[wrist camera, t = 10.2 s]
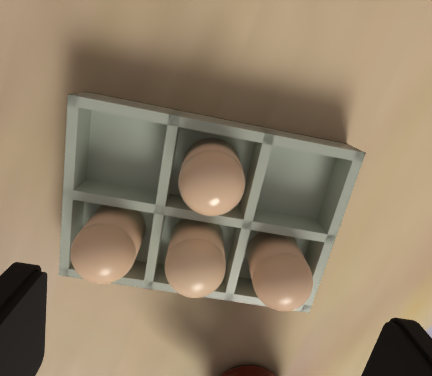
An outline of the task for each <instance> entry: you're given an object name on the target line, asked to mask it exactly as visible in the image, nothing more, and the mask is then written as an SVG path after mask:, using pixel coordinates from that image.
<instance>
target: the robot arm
mask: <svg viewBox="0 0 432 376" xmlns="http://www.w3.org/2000/svg"><path fill="white" fill-rule="evenodd" d="M46 297H47V273H46V272H41V268H40V266H39V265H33V264H26V263H19V262H15V263H13V264H12V265H11V266H10V267H9V268H8V269H7V270H6V271H5V272H4V273H3V274H2V275H1V276H0V376H35V375H36V373H37V372H38V370H39V368H40V366H41V363H42V360H43V357H44V349H45V323H46ZM362 376H432V338H431V337H430V336H429V335H428V334H427V332H426V331H425V330H424V329H423V328H422V327H421V325H420V324H419V323H417V322H416V321H413V320H407V319H400V318H392V319H391V320H390V321H389V322H387V323H385V325H384V326H383V328H382V331H381V333H380V335H379V337H378V340H377V342H376V344H375V346H374V349H373V351H372V353H371V355H370V358H369V360H368V362H367V364H366V367H365V369H364V371H363V373H362Z"/></svg>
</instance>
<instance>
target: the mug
mask: <svg viewBox="0 0 432 376" xmlns="http://www.w3.org/2000/svg"><path fill="white" fill-rule="evenodd" d="M221 376H275V375H274V374H273V373H272V372H271V371H269V370H267V369H265V368H263V367H259V366H253V365H245V366H239V367H236V368H233V369H230V370H228V371H227V372H225V373H224V374H222V375H221Z"/></svg>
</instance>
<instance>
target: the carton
mask: <svg viewBox="0 0 432 376" xmlns="http://www.w3.org/2000/svg"><path fill="white" fill-rule="evenodd" d="M205 138H218V139H221V140H224V141H226V142H227V143H229V144H230V145H231V146H232V147H233V148H234V149H235V151H236V152H237V154H238V157H239V160H240V163H241V166H242V169H243V172H244V175H245V190H244V193H243V196H242V198H241V200H240V201H239V203H238V204H237V205H236V206H235V207H234V208H233V209H232V210H230V211H229V212H227V213H225V214H222V215H218V216H206V215H202V214H199V213H197V212H195V211H193V210H192V209H191V208H190V207H188V206H187V204H186V203H185V202H184V200H183V199H182V197H181V194H180V191H179V187H178V180H179V174H180V170H181V167H182V163H183V160H184V156H185V154H186V152H187V150H188V149H189V148H190V147H191V146H192V145H193V144H194V143H195V142H197V141H199V140H201V139H205ZM364 156H365V152H363V151H361V150H359V149H357V148H355V147H353V146H351V145H349V144H346V143H341V142H336V141H331V140H326V139H321V138H316V137H311V136H306V135H301V134H296V133H291V132H286V131H280V130H275V129H270V128H265V127H260V126H255V125H250V124H245V123H240V122H235V121H230V120H225V119H220V118H215V117H210V116H205V115H200V114H195V113H190V112H185V111H180V110H175V109H170V108H165V107H160V106H155V105H150V104H145V103H140V102H135V101H130V100H124V99H119V98H114V97H109V96H104V95H99V94H94V93H89V92H80V93H73V94H68V102H67V122H66V142H65V161H64V181H63V201H62V221H61V240H60V260H59V275H60V276H67V277H73V278H80V279H85V280H87V281H89V282H92V283H95V284H108V283H113V284H120V285H127V286H133V287H140V288H147V289H153V290H160V291H167V292H173V293H179V294H181V295H183V296H186V297H189V298H200V297H207V298H213V299H220V300H227V301H233V302H240V303H247V304H253V305H260V306H267V307H269V308H271V309H274V310H277V311H291V310H294V311H300V312H307V313H309V312H310V309H311V306H312V303H313V301H314V298H315V295H316V292H317V289H318V286H319V284H320V281H321V278H322V275H323V272H324V269H325V267H326V264H327V261H328V258H329V255H330V252H331V250H332V247H333V244H334V241H335V238H336V235H337V233H338V230H339V227H340V224H341V221H342V218H343V216H344V213H345V210H346V207H347V204H348V201H349V199H350V196H351V193H352V190H353V187H354V184H355V182H356V179H357V176H358V173H359V170H360V167H361V165H362V162H363V159H364Z"/></svg>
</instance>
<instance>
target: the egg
mask: <svg viewBox="0 0 432 376" xmlns="http://www.w3.org/2000/svg"><path fill="white" fill-rule="evenodd" d="M178 187H179V191H180V194H181V197H182V199H183V200H184V202H185V203H186V204H187V206H188V207H190V208H191V209H192V210H193V211H195V212H197V213H199V214H202V215H206V216H218V215H222V214H225V213H227V212H229V211H230V210H232V209H233V208H234V207H235V206H236V205H237V204H238V203H239V201H240V200H241V198H242V196H243V193H244V190H245V175H244V172H243V169H242V166H241V163H240V160H239V157H238V154H237V152H236V151H235V149H234V148H233V147H232V146H231V145H230V144H229V143H227V142H226V141H224V140H221V139H218V138H205V139H201V140H199V141H197V142H195V143H194V144H193V145H192V146H191V147H190V148H189V149H188V150H187V152H186V154H185V156H184V160H183V163H182V167H181V170H180V174H179V180H178Z"/></svg>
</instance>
